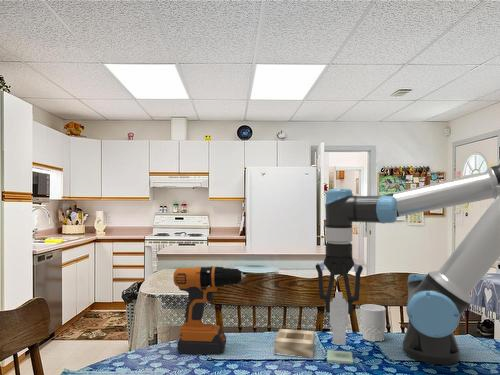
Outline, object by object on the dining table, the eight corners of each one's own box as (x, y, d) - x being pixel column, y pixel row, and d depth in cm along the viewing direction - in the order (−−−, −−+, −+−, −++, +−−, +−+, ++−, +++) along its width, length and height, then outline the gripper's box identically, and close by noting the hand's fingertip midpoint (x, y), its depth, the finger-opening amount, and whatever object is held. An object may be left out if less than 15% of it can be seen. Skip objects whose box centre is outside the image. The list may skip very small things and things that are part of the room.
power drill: (246, 346, 117) (246, 264, 118) (244, 355, 110) (245, 268, 111) (177, 344, 118) (177, 263, 119) (171, 354, 111) (171, 267, 112)
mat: (351, 354, 111) (351, 352, 111) (353, 364, 104) (353, 361, 104) (327, 352, 112) (327, 350, 112) (326, 361, 106) (326, 359, 106)
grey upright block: (345, 339, 111) (345, 292, 111) (345, 346, 105) (345, 296, 106) (332, 338, 112) (332, 291, 112) (332, 345, 106) (332, 296, 107)
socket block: (314, 344, 119) (314, 331, 119) (312, 358, 108) (312, 344, 108) (279, 341, 121) (279, 328, 121) (274, 354, 110) (274, 340, 110)
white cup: (365, 332, 130) (365, 303, 130) (389, 337, 125) (388, 306, 125) (357, 339, 123) (356, 308, 124) (381, 344, 119) (381, 312, 119)
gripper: (367, 241, 111) (368, 322, 111) (310, 240, 115) (310, 318, 114) (370, 244, 104) (370, 331, 103) (308, 242, 108) (308, 326, 107)
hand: (338, 324), depth 109 cm, fingers closed on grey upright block, 4 cm apart
